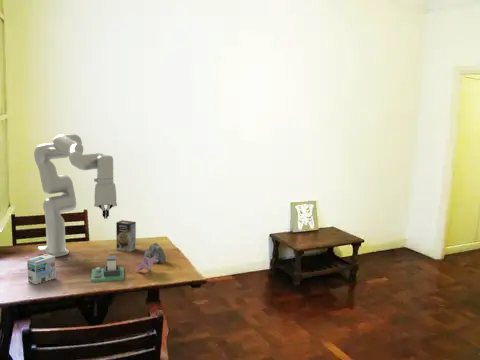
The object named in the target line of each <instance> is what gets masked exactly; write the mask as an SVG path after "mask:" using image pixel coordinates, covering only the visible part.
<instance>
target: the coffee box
mask: <svg viewBox="0 0 480 360" xmlns="http://www.w3.org/2000/svg"><path fill="white" fill-rule="evenodd" d="M115 225H116V227H115V229H116V230H115V231H116V235H115V238H116V251H122V252H127V253H131V252H133V251H134V250H136V248H137V247H136V245H137V244H136V242H137V240H136V238H137V237H136V236H137V235H136V232H137V230H136V229H137V228H136V227H137V226H136V225H137V224H136V221H130V220H124V219H121V220H119V221H116V222H115Z"/></svg>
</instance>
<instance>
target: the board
mask: <svg viewBox="0 0 480 360" xmlns="http://www.w3.org/2000/svg"><path fill="white" fill-rule="evenodd" d="M124 269H125V267H122V266H121V264H116V270H113V271H107V265H103V267H100V266H99V267H95V268H92V269H91V274H90V275H91V276H90V283H94V282H95V283H97V282H99V283H100V282H111V281H124V280H125V272H124Z"/></svg>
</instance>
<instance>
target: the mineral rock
mask: <svg viewBox="0 0 480 360" xmlns="http://www.w3.org/2000/svg"><path fill="white" fill-rule="evenodd" d="M154 256H156V257H155V259H154V260H159V261H157V262H155V263H154V264H164V263H165V262H166V260H167V256H166V253H165V251H164V250H163V248H162V247H161V245H159V244H158V242H154V243H151V244H150V246H149V247H148V248H147V249H146V250H145V252H144V255H143V257H148V258H149V259H151V258H153V257H154Z"/></svg>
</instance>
